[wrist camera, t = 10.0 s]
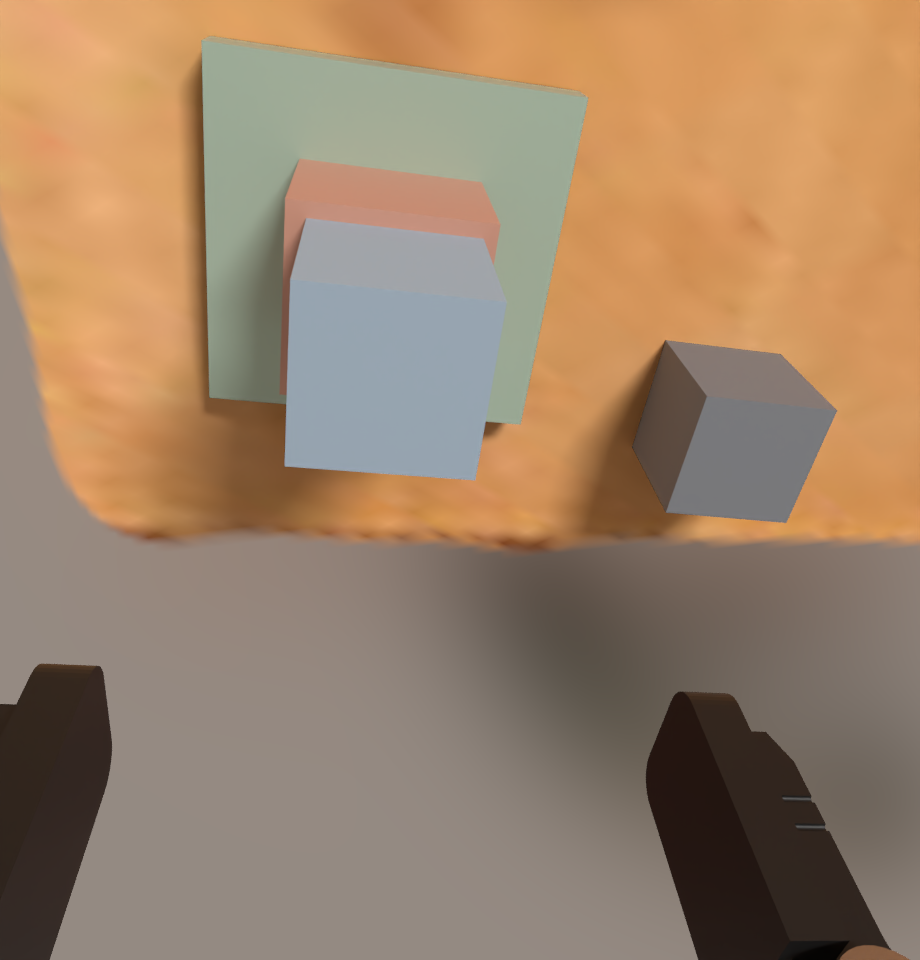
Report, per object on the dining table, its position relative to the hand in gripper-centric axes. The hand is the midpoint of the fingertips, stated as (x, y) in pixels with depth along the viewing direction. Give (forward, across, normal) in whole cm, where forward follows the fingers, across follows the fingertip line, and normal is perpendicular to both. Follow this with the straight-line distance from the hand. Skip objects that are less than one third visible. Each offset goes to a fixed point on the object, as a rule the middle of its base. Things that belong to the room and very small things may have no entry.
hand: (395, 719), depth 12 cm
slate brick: (+22, -14, +5) cm, 26 cm away
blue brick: (+15, 0, 0) cm, 15 cm away
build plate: (+22, 0, 0) cm, 22 cm away
